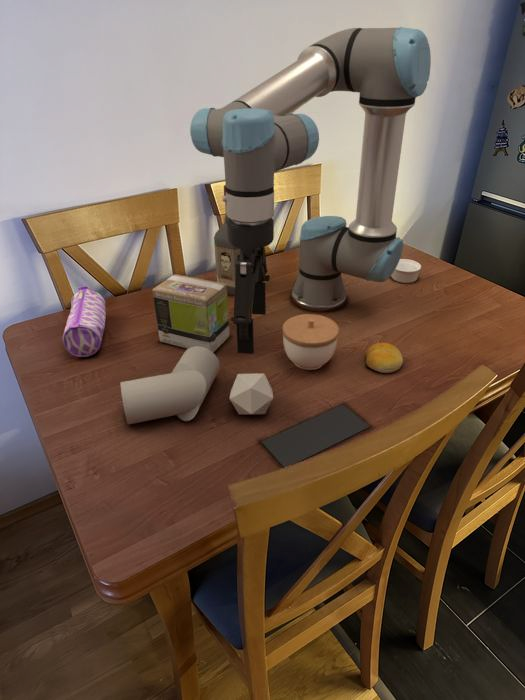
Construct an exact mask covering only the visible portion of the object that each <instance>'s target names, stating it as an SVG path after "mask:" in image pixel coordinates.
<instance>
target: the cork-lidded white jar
mask: <svg viewBox="0 0 525 700" xmlns="http://www.w3.org/2000/svg"><path fill="white" fill-rule="evenodd" d="M339 334H340V328H339V325H338V324H337V323H336V321H334V320H333V319H332V318H329V317H327V316H324V315H320V314H314V313H304V314H303V313H302V314H297V315H293V316H291V317H289V318H288V319H287V320H286V321H284V323H283V325H282V343H283V348H284V351H285V355H286V356H287V358H288V360H290V361H291V362H292V363H293V364H294V365H295V366H296V367H297V368H299V369H302V370H306V371H307V370H308V371H313V370H318V369H320V368H321V367H323V366H324V365H326V364H327V363H328V362H329V361H330V360H331V359H332V358H333V356H334V354H335V352H336V349H337V345H338V340H339Z"/></svg>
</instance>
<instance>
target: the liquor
mask: <svg viewBox="0 0 525 700" xmlns="http://www.w3.org/2000/svg"><path fill="white" fill-rule="evenodd" d="M225 185H226V184H224V185H223V196H226V190H225ZM226 205H227V202H224V211H225V217H224V222H223V223H222V225H221V226H220V227H219V229H218V230H217V231H216V232H215V234H214V236H213V243H214V245H213V247H214V256H215V257H214V258H215V259H214V260H215V275H216V282H219V283H224V284H226V285H227V295H230V296H234V297H235V281H236V266H235V263H236V261H237V256H238V254H239V255H240V249H239V248H238V247H236V246H233V245H231V244H230V243H229V242H228V238H227V220H228V219H229V218H228V217H227V210H226Z"/></svg>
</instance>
